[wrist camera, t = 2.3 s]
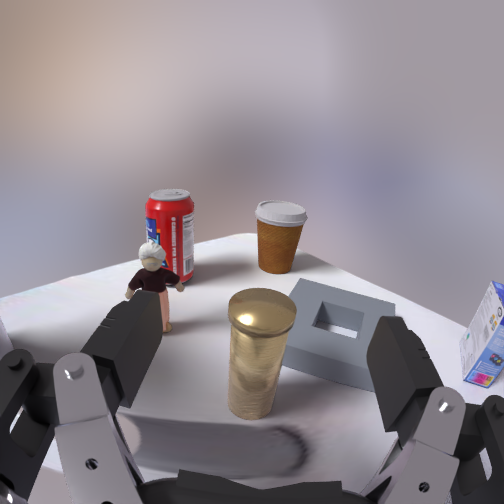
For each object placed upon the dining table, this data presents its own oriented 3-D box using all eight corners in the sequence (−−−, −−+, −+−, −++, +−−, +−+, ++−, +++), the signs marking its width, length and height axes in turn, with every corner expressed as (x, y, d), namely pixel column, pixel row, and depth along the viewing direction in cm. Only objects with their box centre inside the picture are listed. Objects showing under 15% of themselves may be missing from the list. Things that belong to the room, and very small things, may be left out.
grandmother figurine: (137, 343, 35) (123, 254, 30) (130, 325, 38) (117, 241, 32) (190, 328, 39) (187, 243, 34) (179, 313, 42) (176, 231, 36)
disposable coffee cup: (243, 257, 60) (248, 200, 55) (285, 253, 63) (292, 199, 58) (261, 281, 52) (268, 216, 47) (307, 275, 55) (318, 215, 50)
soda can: (195, 287, 48) (195, 199, 42) (148, 289, 46) (142, 200, 40) (192, 265, 55) (193, 187, 49) (151, 266, 53) (147, 188, 47)
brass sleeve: (215, 409, 27) (215, 313, 22) (238, 377, 32) (246, 281, 26) (263, 429, 26) (283, 336, 20) (282, 393, 30) (304, 299, 25)
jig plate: (258, 356, 35) (261, 336, 34) (296, 296, 49) (300, 277, 47) (381, 393, 30) (392, 374, 28) (388, 321, 43) (395, 303, 42)
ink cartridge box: (490, 389, 28) (541, 306, 21) (462, 382, 30) (511, 295, 24) (483, 349, 36) (521, 274, 29) (458, 342, 38) (494, 264, 32)
